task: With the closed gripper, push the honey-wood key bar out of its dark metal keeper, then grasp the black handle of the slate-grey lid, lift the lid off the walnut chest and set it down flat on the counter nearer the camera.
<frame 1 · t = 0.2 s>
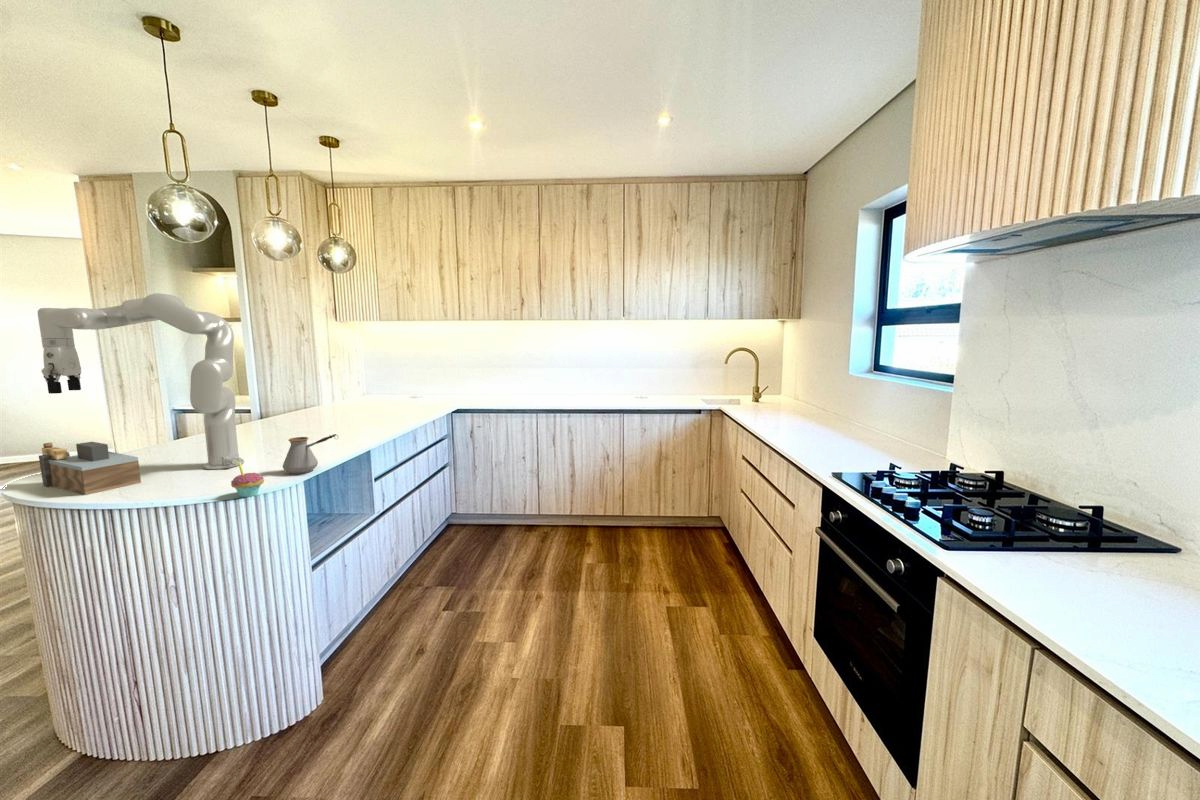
hand: (65, 391, 167), 31 cm above the counter, tool pointing down, fingers open, 9 cm apart
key: (54, 450, 160), point 12 cm above the counter, slide at 0.0 cm
coffee pot: (313, 472, 178), on the counter
cupcake: (249, 495, 152), on the counter
lid: (94, 464, 160), point 7 cm above the counter, touching chest
chest: (97, 484, 161), on the counter
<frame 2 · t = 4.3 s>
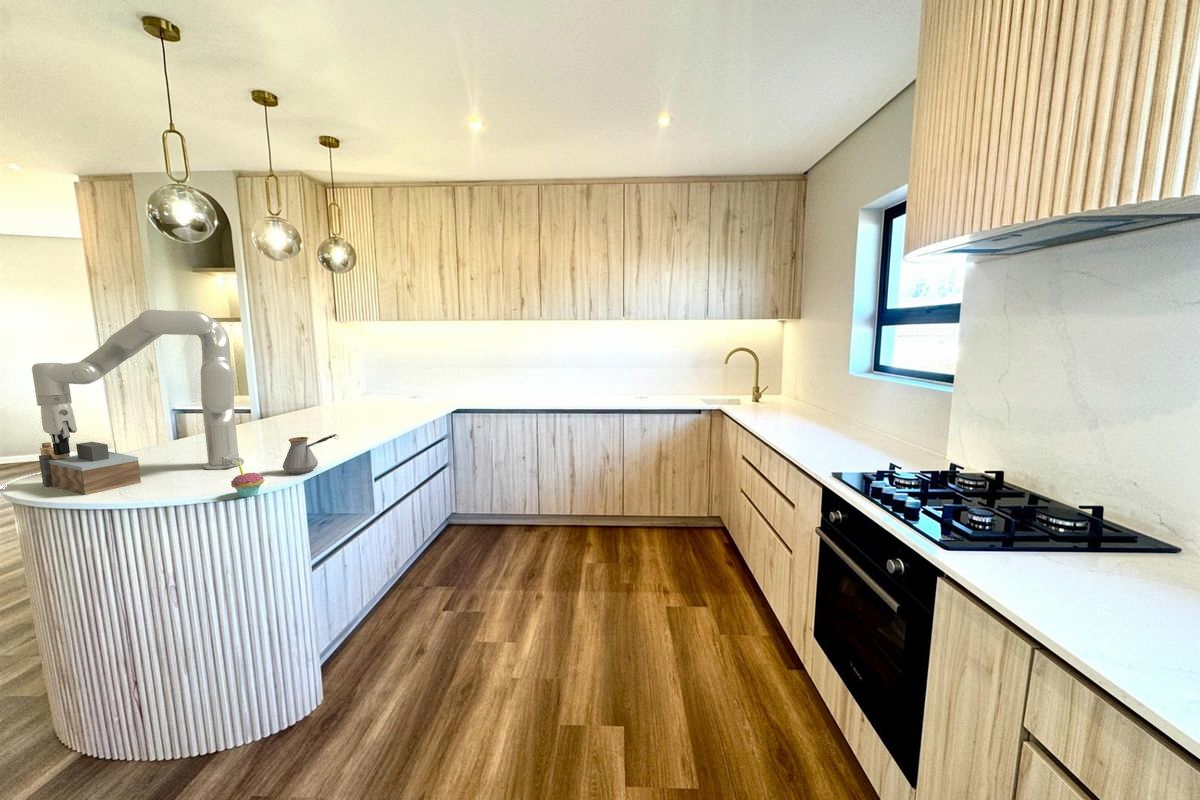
hand: (62, 453, 158), 11 cm above the counter, tool pointing down, fingers closed
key: (52, 450, 160), point 12 cm above the counter, slide at 1.1 cm, touching gripper
everything else where it was.
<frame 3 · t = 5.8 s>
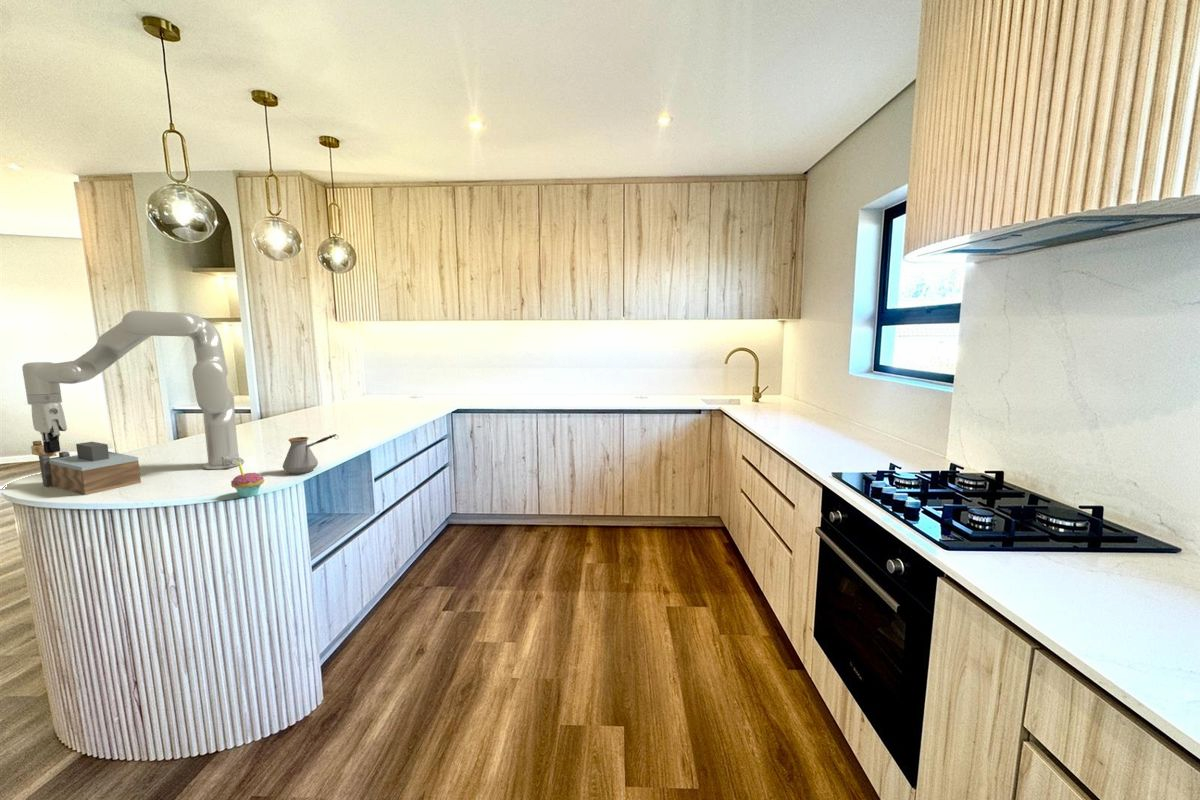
hand: (52, 451, 160), 11 cm above the counter, tool pointing down, fingers closed
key: (43, 448, 162), point 12 cm above the counter, slide at 7.8 cm, touching gripper
everything else where it was.
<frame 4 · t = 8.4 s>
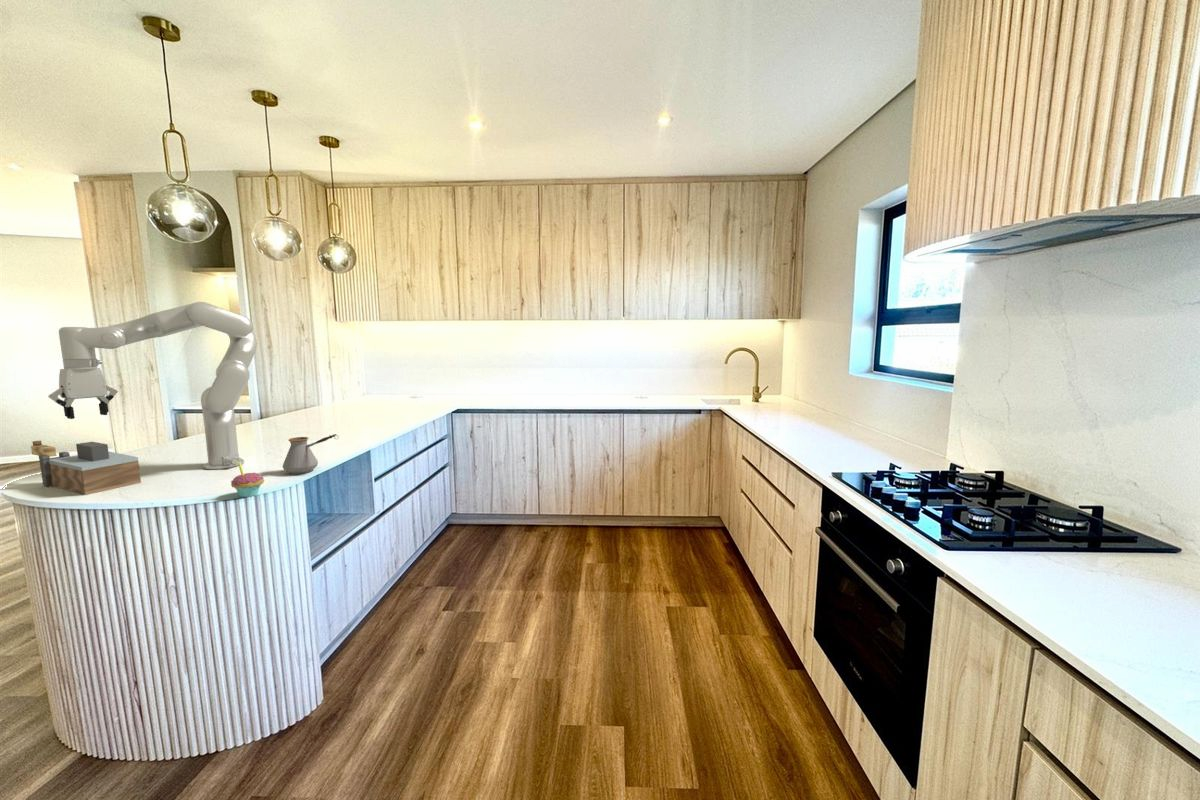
hand: (87, 416, 158), 24 cm above the counter, tool pointing down, fingers open, 7 cm apart
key: (43, 448, 163), point 12 cm above the counter, slide at 7.8 cm
everything else where it was.
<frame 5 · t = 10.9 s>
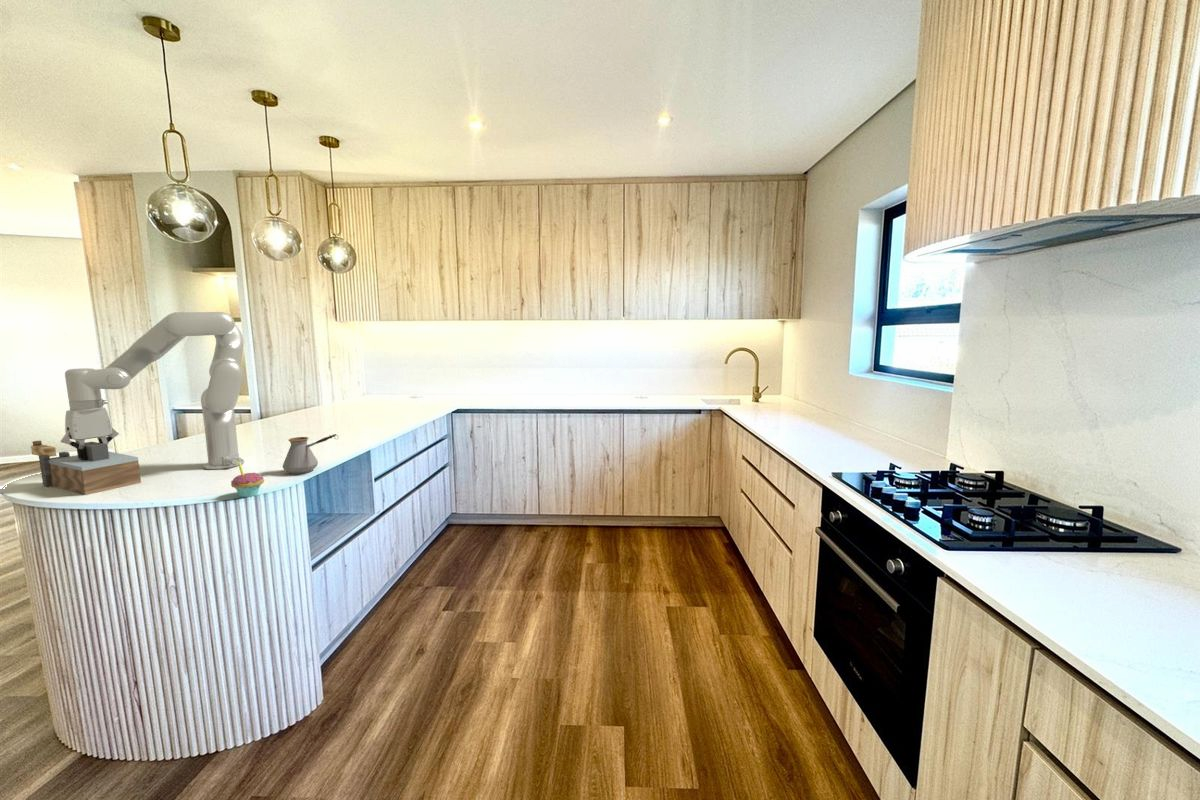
hand: (93, 457, 160), 10 cm above the counter, tool pointing down, fingers closed on lid, 4 cm apart
lid: (94, 464, 160), point 7 cm above the counter, touching chest, gripper
everything else where it was.
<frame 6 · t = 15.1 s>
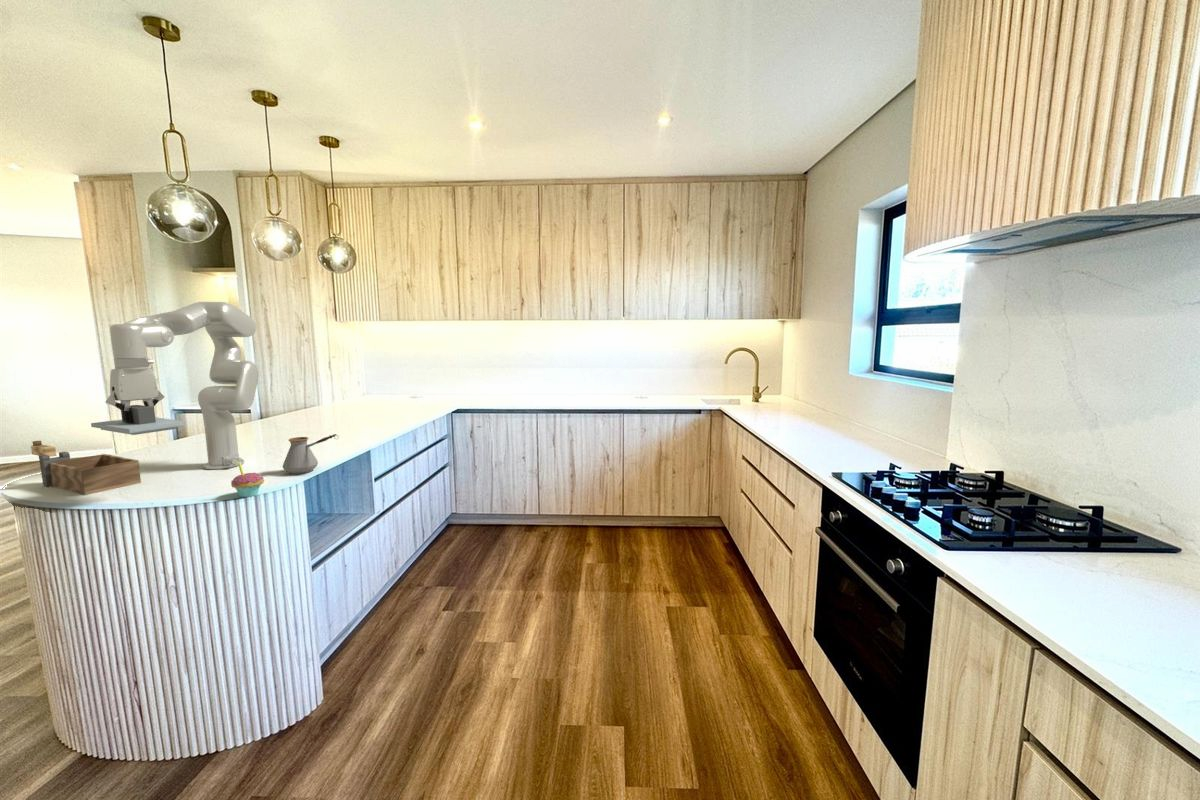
hand: (139, 421, 148), 24 cm above the counter, tool pointing down, fingers closed on lid, 4 cm apart
lid: (140, 429, 149), point 22 cm above the counter, touching gripper
everything else where it was.
when the fingers open (5 cm above the counter, at t = 19.2 s): lid drops 3 cm, on the counter.
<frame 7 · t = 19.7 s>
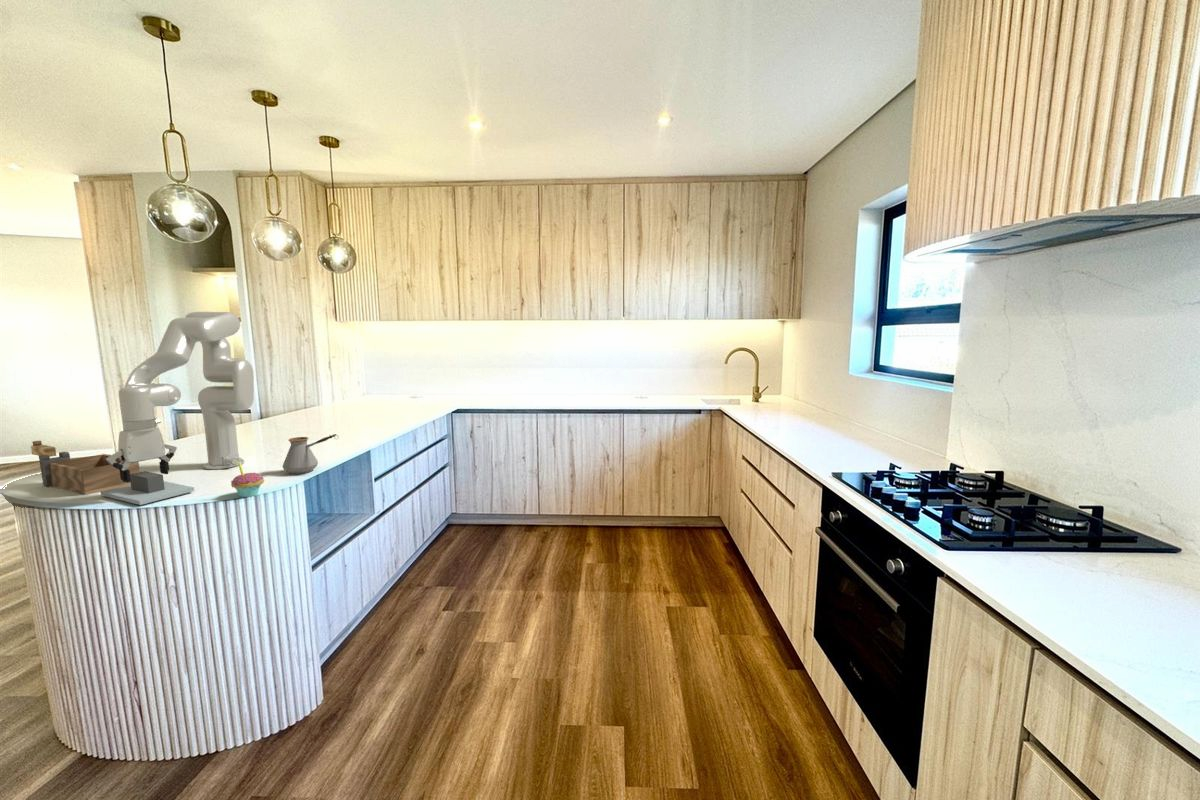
hand: (146, 477, 151), 6 cm above the counter, tool pointing down, fingers open, 9 cm apart
lid: (148, 496, 152), on the counter
everything else where it was.
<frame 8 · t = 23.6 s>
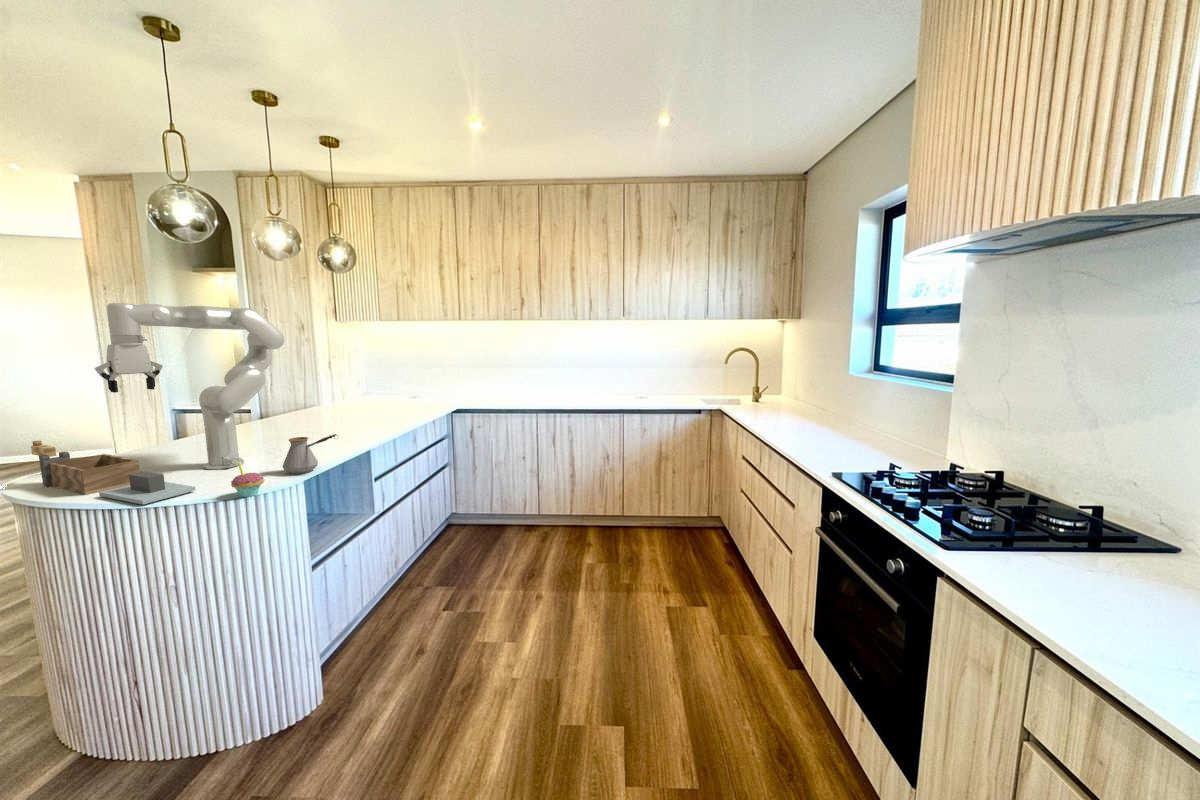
hand: (133, 390, 160), 32 cm above the counter, tool pointing down, fingers open, 9 cm apart
nothing on the counter moved.
at the end: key slide at 7.8 cm; lid inside the target area (0.1 cm from its centre), on the counter; lid tilted 0° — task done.
